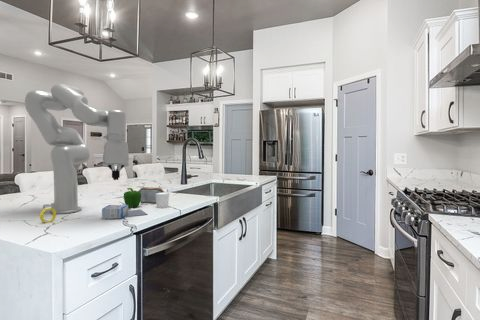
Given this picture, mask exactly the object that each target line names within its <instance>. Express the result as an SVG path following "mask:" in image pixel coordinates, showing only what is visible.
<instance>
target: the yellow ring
mask: <svg viewBox="0 0 480 320" xmlns="http://www.w3.org/2000/svg"><path fill="white" fill-rule="evenodd" d="M51 210H52V212H53V213H52V217H51V219H49V220H45V219H44V214H45V212H47V211H51ZM56 217H57V214H56V211H55V210H54V209H52V207H46V208H44V209H43V210H41V212H40V214H39V219H40V221H41V222H42V223H43V224H47V223H52V222H53V221H54V220H55V219H56Z"/></svg>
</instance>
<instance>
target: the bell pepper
mask: <svg viewBox="0 0 480 320" xmlns="http://www.w3.org/2000/svg"><path fill="white" fill-rule="evenodd" d="M123 201H124V205H128V208H129V209H130V208H137V207H139V206H140V204H141V202H140V201H141V192H140V191H139V190H138V191H137V190H134V189H133V187H128V188H127V191H125V192H124V193H123Z"/></svg>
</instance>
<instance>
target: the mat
mask: <svg viewBox="0 0 480 320" xmlns="http://www.w3.org/2000/svg"><path fill="white" fill-rule="evenodd" d="M140 216H148V213H147V212H145V211H144V210H143V209H132V210H128V214H127V215H126V216H124V217H123V218H132V217H140ZM123 218H122V219H123ZM109 220H116V218H110V219H109Z"/></svg>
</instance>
